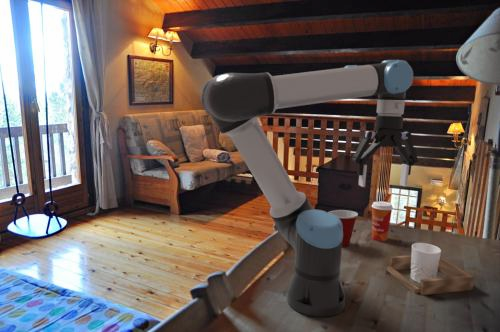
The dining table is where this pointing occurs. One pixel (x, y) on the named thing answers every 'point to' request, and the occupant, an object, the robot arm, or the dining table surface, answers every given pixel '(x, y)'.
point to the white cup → (424, 261)
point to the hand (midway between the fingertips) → (382, 185)
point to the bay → (452, 283)
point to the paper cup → (381, 220)
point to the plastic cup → (346, 223)
